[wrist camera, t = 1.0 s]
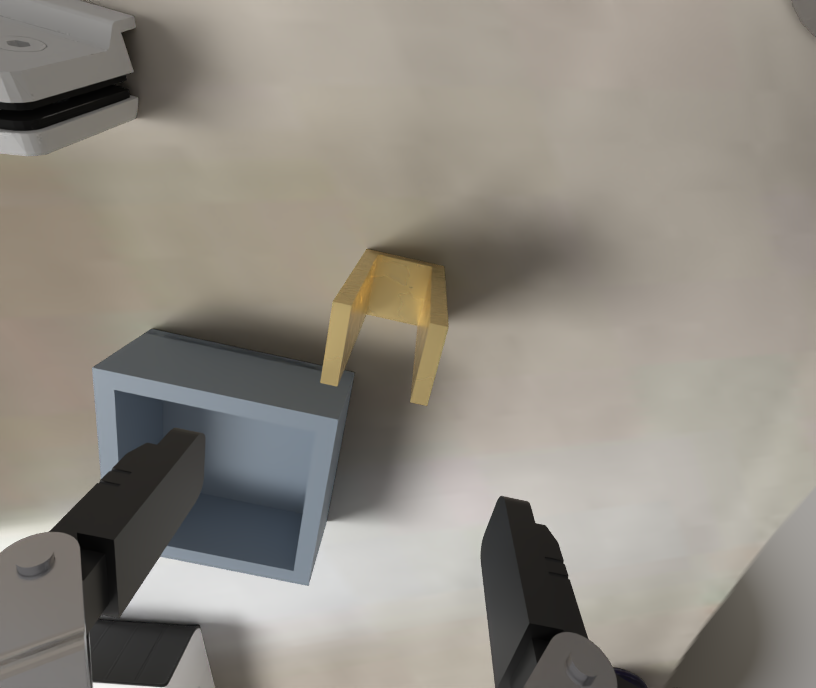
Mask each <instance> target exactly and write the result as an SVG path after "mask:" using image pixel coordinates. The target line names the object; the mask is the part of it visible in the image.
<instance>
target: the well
mask: <svg viewBox="0 0 816 688" xmlns="http://www.w3.org/2000/svg"><path fill="white" fill-rule="evenodd" d="M322 368H323V366H322V365H317V364H313V363H308V362H303V361H299V360H294V359H289V358H285V357H280V356H275V355H271V354H266V353H262V352H257V351H252V350H248V349H243V348H238V347H234V346H229V345H224V344H220V343H215V342H211V341H206V340H201V339H197V338H192V337H187V336H183V335H178V334H174V333H169V332H164V331H160V330H155V329H150V330H149V331H147V332H146V333H144V334H143V335H141V336H140V337H138V338H137V339H135V340H134V341H132V342H130V343H129V344H127V345H126V346H124V347H123V348H121V349H120V350H118V351H117V352H115V353H114V354H112V355H111V356H109V357H108V358H106V359H105V360H103V361H102V362H100V363H99V364H97V365H95V366H94V367H92V371H93V384H94V396H95V409H96V421H97V434H98V446H99V459H100V471H101V479H102V478H103V477H104V476H105V475H106V474H107V473H108V472H109V471H111V470H112V468H113V467H114V466H115V465H116V464H117V463H118V462H119V461H120V460H121V459H122V458H123V457H124V456H125V455H126V454H127V453H128V452H130V451H132V450H134V449H136V448H138V447H140V446H142V445H143V444H145V443H152V444H158V443H159V442H160V441H161V440H162V439H163V438H164V437H165V436H166V434H167V433H168V432H169V431H170V430H171V429H173V428H180V429H185V430H190V431H195V432H200V433H203V434H204V435H205V465H204V481H203V486H202V489H201V492H200V495H199V497H198V499H197V501H196V503H195V504H194V506H193V507H192V509H191V510H190V512H189V513H188V515H187V516H186V518H185V519H184V521H183V522H182V524H181V525H180V527H179V528H178V530H177V531H176V533H175V534H174V536H173V537H172V539H171V540H170V542H169V544H168V545H167V547H166V548H165V550H164V551H163V553H162V554H161V556H160V557H165V558H170V559H175V560H180V561H185V562H190V563H195V564H200V565H205V566H211V567H216V568H221V569H226V570H231V571H236V572H241V573H246V574H251V575H256V576H261V577H266V578H271V579H276V580H281V581H286V582H292V583H297V584H302V585H307V586H309V582H310V579H311V575H312V572H313V568H314V565H315V561H316V557H317V554H318V550H319V547H320V543H321V540H322V536H323V533H324V529H325V526H326V522H327V517H328V512H329V507H330V501H331V496H332V491H333V486H334V480H335V475H336V470H337V464H338V459H339V454H340V448H341V443H342V438H343V433H344V427H345V422H346V417H347V411H348V406H349V401H350V396H351V390H352V385H353V380H354V374H355V373H354V372H350V371H345V370H344V372H343V374H342V376H341V379H340V381H339V384H338V386H332V385H327V384H323V383H320V381H321V374H322Z"/></svg>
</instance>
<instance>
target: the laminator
mask: <svg viewBox="0 0 816 688" xmlns="http://www.w3.org/2000/svg"><path fill="white" fill-rule="evenodd" d="M89 637H90V651H91V666H92V681H93V688H215V685H214V681H213V677H212V673H211V669H210V665H209V661H208V657H207V653H206V649H205V645H204V641H203V637H202V633H201V629H200V626H199V625H197V626H185V625H170V624H156V623H139V622H124V621H108V620H97V621H96V623H95V624H94V626H93V627H92V629H91V630H90V631H89Z"/></svg>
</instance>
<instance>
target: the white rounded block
mask: <svg viewBox="0 0 816 688" xmlns="http://www.w3.org/2000/svg"><path fill="white" fill-rule="evenodd" d="M134 28H136V23H135V17H134V16H132V15H128V14H125V13H122V12H118V11H115V10H111V9H108V8H105V7H101V6H98V5H95V4H91V3H88V2H84V1H81V0H0V153H2V154H12V155H21V156H38V155H45V154H48V153H51V152H53V151H56V150H58V149H61V148H63V147H66V146H68V145H71V144H73V143H76V142H78V141H81V140H84V139H86V138H89V137H91V136H94V135H96V134H99V133H101V132H104V131H106V130H109V129H111V128H114V127H116V126H119V125H121V124H124V123H126V122H129V121H131V120H134V119H136V116H137V112H138V97H135V96H131V95H130V94H129V89H125V88H122V87H118V86H115V85H113V84H117V83H120V82H123V81H126V80H127V78H126V74H129V73H132V72H134V71H133V68H132V65H131V62H130V59H129V56H128V52H127V49H126V46H125V43H124V40H123V37H122V34H121V32H124V31H127V30H131V29H134Z"/></svg>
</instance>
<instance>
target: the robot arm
mask: <svg viewBox="0 0 816 688" xmlns="http://www.w3.org/2000/svg"><path fill="white" fill-rule="evenodd" d="M791 1H792V5H793V7H794V9H795V11H796V13H797V15H798V17H799V19H800V21H801V23H802V24H803V25H804V26H805V27H806V28H807V29H808V30H809V31H810V32H811V33H812V34H813V35H814V36H815V37H816V0H791ZM204 465H205V435H204V434H203V433H200V432H195V431H190V430H185V429H180V428H173V429H171V430H170V431H169V432H168V433H167V434H166V436H165V437H164V438H163V439H162V440H161V441H160V442H159V443H158V444H152V443H145V444H143V445H142V446H140V447H138V448H136V449H134V450H132V451H130V452H128V453H127V454H126V455H125V456H124V457H123V458H122V459H121V460H120V461H119V462H118V463H117V464H116V465H115V466H114V467H113V468H112V470H111V471H109V472H108V473H107V474H106V475H105V476H104V477H103V478H102V479H101V480H100V483H99V484H98V483H97V484H96V485H95V486H94V487H93V488H92V489H91V490H90V491H89V492H88V493H87V494H86V495H85V496H84V497H83V498H82V499H81V500H80V501H79V502H78V503H77V504H76V505H75V506H74V507H73V508H72V509H71V510H70V511H69V512H68V513H67V514H66V515H65V516H64V517H63V518H62V519H61V520H60V521H59V522H58V523H57V524H56V525H55V526H54V527H53V528H52V529H51V530H50V531H49V532H45V533H39V534H35V535H32V536H28V537H26V538H23V539H21V540H19V541H17V542H15V543H13V544H12V545H10V546H8V547H7V548H6V549H4V550H3V551H2V552H1V553H0V688H93V681H92V666H91V651H90V637H89V631H90V630H91V629H92V627H93V626H94V624H95V623H96V621H97V620H98V619H99V617H100V616H101V615H106V616H111V617H116V618H120V616H121V615H122V613H123V612H124V610H125V609H126V607H127V606H128V604H129V603H130V601H131V599H132V598H133V596H134V595H135V593H136V592H137V590H138V589H139V587H140V586H141V584H142V583H143V581H144V580H145V578H146V577H147V575H148V574H149V572H150V571H151V569H152V568H153V566H154V565H155V563H156V562H157V560H158V559H159V557H160V556H161V554H162V553H163V551H164V550H165V548H166V547H167V545H168V544H169V542H170V540H171V539H172V537H173V536H174V534H175V533H176V531H177V530H178V528H179V527H180V525H181V524H182V522H183V521H184V519H185V518H186V516H187V515H188V513H189V512H190V510H191V509H192V507H193V506H194V504H195V503H196V501H197V499H198V497H199V495H200V492H201V489H202V486H203V481H204ZM563 561H564V560H563V557H562V554H561V551H560V547H559V544H558V542H557V541H556V539H555V538H554V536H553V535H552V534H551V532H550V531H549V529H548V528H547V527H546V525H541V524H536V523H535V520H534V517H533V513H532V509H531V506H530V503H529V502H527V501H523V500H518V499H513V498H509V497H504V496H500V497H499V499H498V500H497V503H496V505H495V508H494V511H493V513H492V516H491V518H490V521H489V523H488V526H487V529H486V531H485V534H484V537H483V540H482V546H481V567H482V576H483V585H484V593H485V602H486V611H487V620H488V628H489V637H490V646H491V654H492V663H493V672H494V681H495V688H639V687H638V686H636V685H634V684H632V683H630V682H628V681H626V680H624V679H623V678H621V677H620V676H618V675H617V674H616V673H615V671H614V669H613V667H612V665H611V663H610V661H609V660H608V658H607V657H606V655H605V654H604V653H603V652H602V651H601V650H600V648H599V647H597V646H596V645H595V644H594V643H593V642H591V641H590V640H589V639H588V637H587V634H586V630H585V627H584V624H583V621H582V618H581V614H580V611H579V608H578V605H577V602H576V598H575V595H574V592H573V589H572V586H571V582H570V579H568V573H567V570H566V567H565V564H563Z"/></svg>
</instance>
